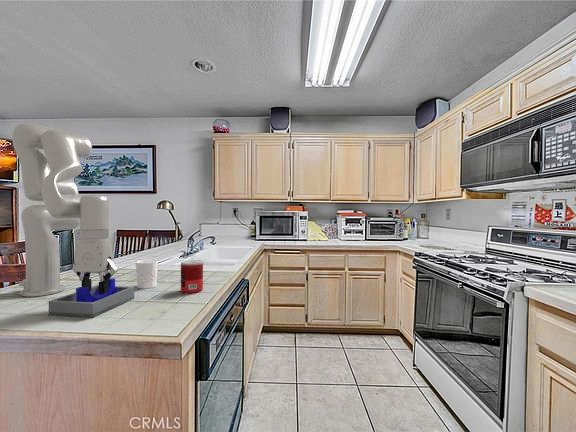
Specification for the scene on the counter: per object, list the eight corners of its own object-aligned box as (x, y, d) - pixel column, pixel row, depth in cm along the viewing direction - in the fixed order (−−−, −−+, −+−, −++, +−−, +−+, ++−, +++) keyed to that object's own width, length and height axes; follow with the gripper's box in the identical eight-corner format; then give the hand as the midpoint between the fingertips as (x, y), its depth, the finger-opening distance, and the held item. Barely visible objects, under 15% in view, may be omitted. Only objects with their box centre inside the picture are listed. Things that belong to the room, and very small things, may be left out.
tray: (48, 315, 85) (48, 301, 85) (96, 296, 102) (96, 285, 102) (93, 317, 83) (93, 303, 83) (134, 298, 101) (134, 286, 101)
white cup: (162, 285, 117) (162, 260, 117) (143, 290, 111) (143, 263, 111) (150, 283, 122) (150, 258, 121) (131, 287, 115) (131, 261, 115)
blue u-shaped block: (103, 295, 99) (103, 278, 99) (115, 296, 98) (115, 278, 98) (72, 308, 87) (71, 288, 87) (85, 308, 87) (84, 288, 86)
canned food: (207, 289, 113) (207, 260, 112) (192, 295, 105) (192, 264, 105) (191, 287, 116) (191, 259, 116) (176, 292, 109) (176, 262, 108)
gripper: (59, 235, 89) (59, 295, 90) (111, 236, 87) (111, 297, 88) (79, 233, 97) (80, 288, 97) (127, 234, 95) (128, 291, 95)
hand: (94, 292), depth 93 cm, fingers open, 5 cm apart
